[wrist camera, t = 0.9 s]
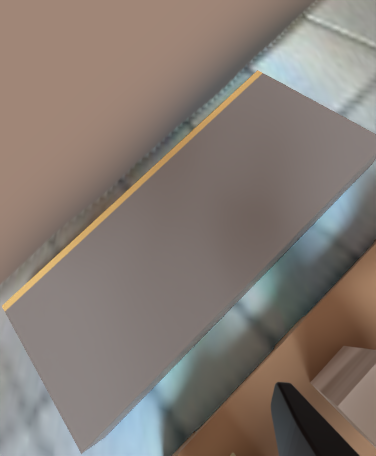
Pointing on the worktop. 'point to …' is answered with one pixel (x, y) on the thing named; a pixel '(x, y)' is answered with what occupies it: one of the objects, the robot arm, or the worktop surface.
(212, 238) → the dock
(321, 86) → the worktop surface
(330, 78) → the worktop surface
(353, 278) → the pallet
